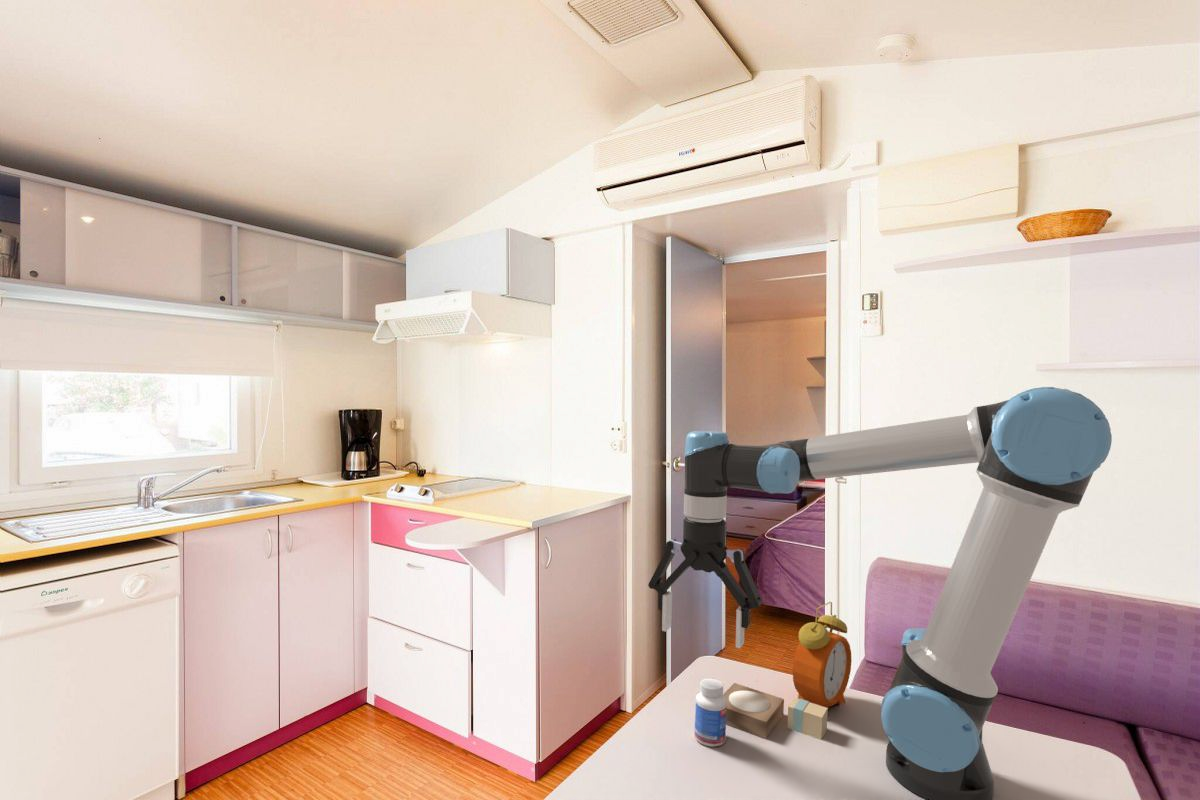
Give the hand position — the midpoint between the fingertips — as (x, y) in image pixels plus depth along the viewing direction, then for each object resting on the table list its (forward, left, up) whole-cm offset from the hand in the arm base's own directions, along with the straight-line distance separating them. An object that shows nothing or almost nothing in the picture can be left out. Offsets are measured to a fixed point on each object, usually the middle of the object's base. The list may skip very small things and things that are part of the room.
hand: (702, 636), depth 105 cm
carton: (-15, -14, -18) cm, 27 cm away
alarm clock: (-15, -24, -18) cm, 34 cm away
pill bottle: (-2, 0, -18) cm, 18 cm away
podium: (-5, -11, -18) cm, 21 cm away
